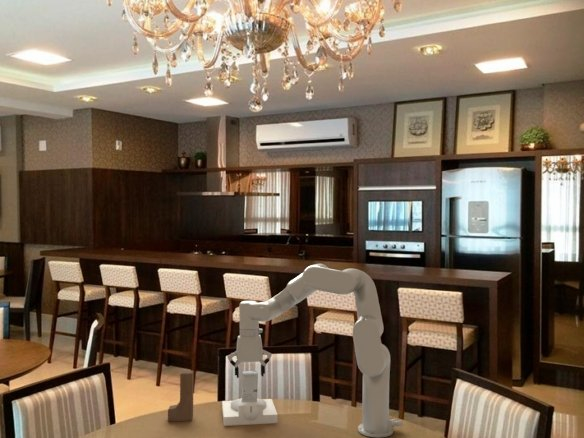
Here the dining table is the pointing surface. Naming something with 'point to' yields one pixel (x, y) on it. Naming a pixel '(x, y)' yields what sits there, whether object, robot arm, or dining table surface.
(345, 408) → the dining table surface
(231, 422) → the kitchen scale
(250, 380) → the skincare box
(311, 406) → the dining table surface
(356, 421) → the dining table surface
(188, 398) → the wooden block
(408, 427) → the dining table surface
